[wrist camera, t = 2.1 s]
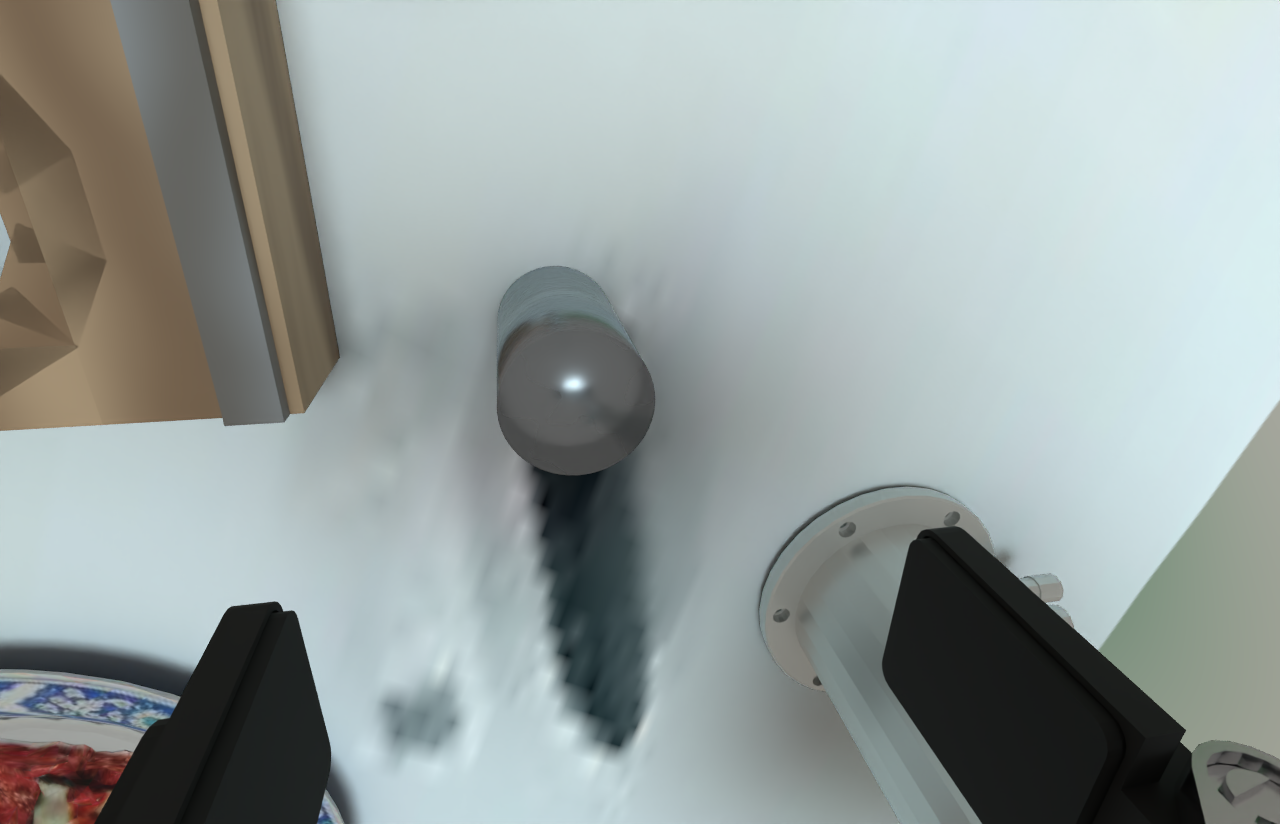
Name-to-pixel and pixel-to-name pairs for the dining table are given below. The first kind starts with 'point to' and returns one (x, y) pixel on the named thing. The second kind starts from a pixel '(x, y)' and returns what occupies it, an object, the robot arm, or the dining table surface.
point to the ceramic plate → (74, 744)
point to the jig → (155, 217)
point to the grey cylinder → (568, 375)
